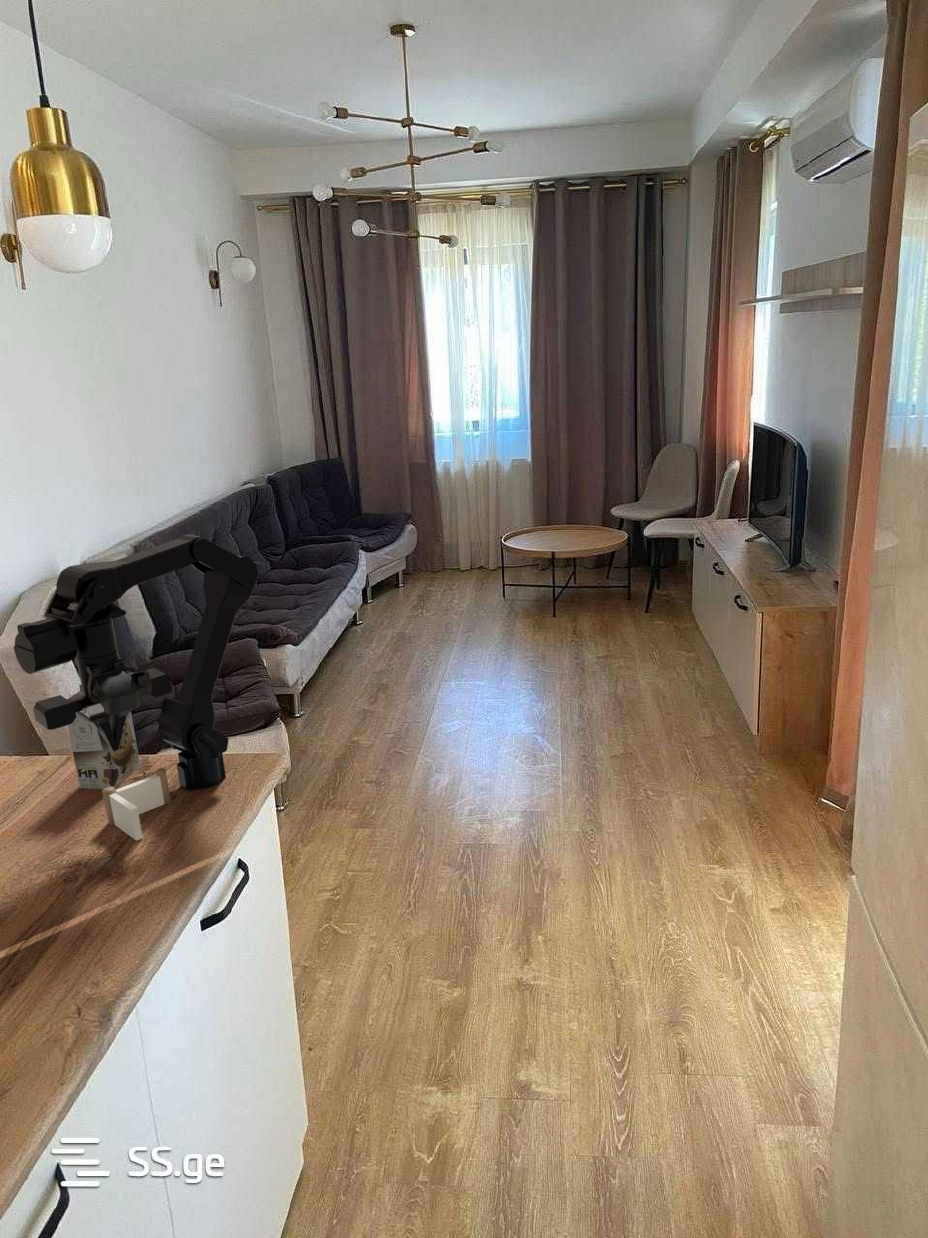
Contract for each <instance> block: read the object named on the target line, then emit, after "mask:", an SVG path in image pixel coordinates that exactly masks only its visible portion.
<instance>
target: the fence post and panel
mask: <svg viewBox="0 0 928 1238" xmlns="http://www.w3.org/2000/svg"><path fill="white" fill-rule="evenodd" d="M155 773H156V774H155V775H152V776H149V777H147V778H143V779H142V780H138V781H136V782H132V783H130V784H128V785H125V786H123V787H120V788H117V789H116V787H107V788H104V789H101V790H102V791H101V793H102V796H103V801H104V802H103V803H104V806H105V812H106V817H107V822H108V825H109V826H115V823H114V818H113V813H112V808H111V802H110V797H109V795H112V794H114V793H116V794H118V795H119V796H121V797H122V798H124V799H125V800H127V801H128V802H130V803H131V804H133V805H134V806H136V807H137V809H138V814H139V815H140V814H143V813H146V812H148V811H151V810H153V809H156V808H159V807H161V806H163V805H168V804H170V803H171V801H172V800H171V795H170V787H169V782H168V778H167V771H166V768H164V767H162V768H161V767H160V768H157V769H156V771H155Z"/></svg>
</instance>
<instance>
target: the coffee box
mask: <svg viewBox="0 0 928 1238" xmlns="http://www.w3.org/2000/svg"><path fill="white" fill-rule="evenodd" d="M82 696H83V693H82V692H81V691H80V690H79V691H78V692H76V693H74V694H73V695H72V696H70V697H68V698H66V699H67V700H72V699H76V698H79V697H82ZM104 711H105V709H104ZM67 728H68V733H69V739H70V743H71V744H70V745H71V750H72V755H73V760H74V766H75V769H76V775H77V781H78V786H79V789H90V790H91V789H94V790H103V789H104V788H107V787H115V788H116V787H117V786H119V785H120V784H121V783H122V782H123V781H124V780H126V779H127V778H128V777H129V776H130V775H131V774H132V773H133V772H134V771H136V769H137V768H139V767H140V766H141V762H140V757H139V751H138V745H137V744H138V743H137V739H136V732H135V727H134V722H133V717H132V711H131V712H130V713H129V714H128V715H127V718H126V721H125V724H124V727H123V732H122V737H121V742H120V747H119V750H117V751H114V752H113V751H112V750H111V749H110V747H109V746H108V744H107V743H106V741H105V740H104V738H103V737H102V735H101V734H100V732H99V731H98V729H97V728H96V726H95V725H94V724H93V723H92V722H88V721H87V720H85V719H84V718H83V717H81V716H80V715H78V714H77V712H76V718H75V720H74V721H73V723H72V724H70V725H67Z"/></svg>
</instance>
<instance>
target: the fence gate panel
mask: <svg viewBox="0 0 928 1238" xmlns="http://www.w3.org/2000/svg"><path fill="white" fill-rule="evenodd" d="M109 797H110V802H111V808H112V813H113V818H114V823H115V825H114V826H115V827H117V828H118V829H119V830H121V831H123V832H124V833H125V835H128V836H129V837H130V838H132V839H133V840H135V841H139V840H142V839H144V836H143V832H142V826H141V821H140V814H138V809H137V807H136V806H134V805H133V804H131V803H130V802H128V801H127V800H125V799H124V798H122V797H121V796H119V795H118V794H116V793H114V794H112V795H109Z"/></svg>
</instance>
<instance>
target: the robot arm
mask: <svg viewBox="0 0 928 1238" xmlns="http://www.w3.org/2000/svg"><path fill="white" fill-rule="evenodd" d="M188 566H191V567H193V568H194V569H195V570H196V571H198V572H200V573H201V574H203V575H204V576H203V583H202V589H203V594H204V599H205V606H204V607H205V608H204V610H203V614H202V617H201V620H200V624H199V627H198V631H197V634H196V637H195V641H194V645H193V649H192V651H191V655H190V657H189V662H188V665H187V668H186V672H185V675H184V678H183V682H182V685H181V688H180V689H179V691H178V692H177V693H176V694H175V696H174V697H172V698H171V697H167V696H165V695H168V694H171V693H173V692H174V685H173V680H172V678H171V676H170V675H168V674H166V673H165V672H162V671H161V670H159V669H157V668H155V667H152V668H149V669H143V670H139V671H135V672H128V671H127V668H126V667H125V663H124V661H123V658H122V657H120V654H119V649H118V644H117V638H116V633H115V628H114V626H115V625H114V622H113V620H115V619H117V618H121V617H124V616H126V615H127V611H126V610H124V609H122V608H121V607H119V606H117V605H116V604H115V602H117V601H118V600H120V599H121V598H122V597H123V596H124V595H125V594H126V593H127V592H128V590H130V589H132V588H134V587H136V586H137V585H141V584H143V583H146V582H148V581H151V580H154V579H156V578H160V577H162V576H165V575H167V574H170V573H173V572H175V571H178V570H181V569H183V568H186V567H188ZM258 579H259V568H258V567H257V565H256V563H255V562H254V560H253V559H252V558H249V557H248V556H241V555H237V554H234V553H233V552H230V551H229V550H227V549H224V548H222V547H221V546H218V545H216V544H215V543H213V542H211V541H210V540H208V539H207V538H206V537H204V536H200V535H194V534H183V535H181V536H179V537H177V538H176V539H172V540H170V541H167V542H165V543H162V544H159V545H156V546H154V547H151V548H147V549H146V550H142V551H139V552H136V553H133V554H131V555H127V556H125V557H122V558H120V559H116V560H110V561H101V562H99V561H98V562H97V561H96V562H88V563H87V562H86V563H81V564H75V565H69V566H68V567H65V568H64V569H62V570H61V571H60V572H59V576H58V578H57V580H56V588H55V591H54V593H53V596H52V598H51V600H50V602H49V604H48V606H47V608H46V610H45V612H44V617H45V618H44V619H41V620H36V621H32V622H24V623H21V624H18V625H17V626H16V628H17V632H18V633H17V634H16V635H15V638H14V646H13V650H14V655H15V657H16V660H17V663H18V665H20V667H21V669H22V670H23V671H24V672H25V673H27V674H28V675H31V674H32V675H33V674H35V673H39V672H41V671H45V670H48V669H51V668H54V667H57V666H61V665H65V664H66V663H70V662H71V661H72V660H74V661H73V662H74V664H75V666H76V667H77V670H78V673H79V679H80V684H78V685H79V691H81V692H82V693H83V696H82V697H79V698H76V699H72V700H67V699H68V698H66V697H64V696H62V695H61V694H59V695H56V696H52V697H48V698H45V699H41V700H38V701H36V703H34V706H33V708H32V710H33V714H34V719H35V721H36V722H38V724H40V725H41V726H43V727H44V728H45V729H46V730H47V731H48V730H50V731H51V730H57V729H60V728H63V727H66V726H68V725H70V724H72V723H73V721H74V720H75V718H76V712H77V714H78V715H80V716H81V717H83V718H84V719H85V720H87V721H88V722H92V723H93V724H94V725H95V726H96V728H97V729H98V731H99V732H100V734H101V735H102V737H103V738H104V740H105V741H106V743H107V744H108V746H109V747H110V749H111V750H112V751H113V752H114V751H117V750H119V747H120V742H121V737H122V732H123V727H124V724H125V721H126V718H127V715H128V714H129V713H130V712H131V713H132V711H134V710H137V709H139V708H140V707H141V698H144V697H148V696H149V695H151V696H152V697H154V698H159V697H161V696H165V697H164V698H163V700H162V703H161V704H162V705H161V709H160V713H159V716H158V717H157V718H156V722H158V728H157V731H158V734H159V735H160V737H161V739H162V740H163V741H164V742H166V743H168V744H169V745H170V747H171V748H172V749H173V750H176V751H179V752H178V753H177V756H178V757H177V758H178V761H179V762H177V763H176V767H177V768H176V769H177V774H178V781H179V786H180V787H182V788H183V789H184V790H185V791H188V792H189V791H195V790H203V789H209V788H212V787H215V786H216V785H218V784H220V782H221V781H222V780H223V779H226V778H227V775H226V767H225V762H224V754H223V753H225V752H227V750H228V746H229V738H228V737H227V736H225V735H223V734H222V733H220V732H219V731H218V732H217V731H216V730H214V728H215V727H214V725H215V721H216V720H215V718H216V716H215V715H216V714H215V709H214V705H213V693H214V690H215V688H216V683H217V680H218V676H219V673H220V671H221V666H222V663H223V659H224V655H225V652H226V650H227V646H228V643H229V639H230V635H231V631H232V629H233V625H234V622H235V619H236V615H237V613H238V611H239V610H240V609H241V608H242V607H243V606H244V605H245V603H247V601H248V600H250V597H251V596H252V594H253V592H254V590H255V587H256V586H257V585H256V584H257V582H258ZM70 606H73V607H75V609H71V608H69V607H70ZM104 709H105V711H104Z"/></svg>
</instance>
